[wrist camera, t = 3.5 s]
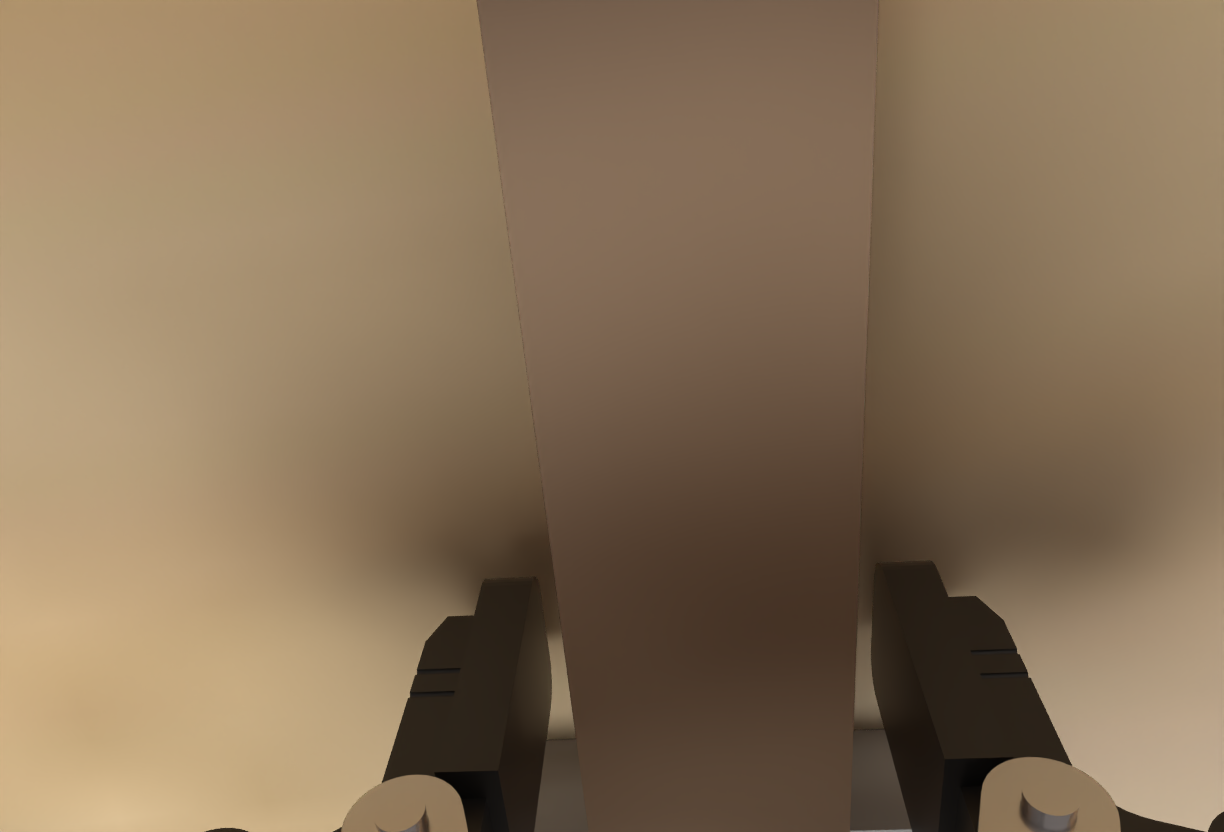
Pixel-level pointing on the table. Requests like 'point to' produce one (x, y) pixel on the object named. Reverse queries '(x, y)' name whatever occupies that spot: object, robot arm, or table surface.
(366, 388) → the table surface
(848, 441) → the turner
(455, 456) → the table surface
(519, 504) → the table surface
